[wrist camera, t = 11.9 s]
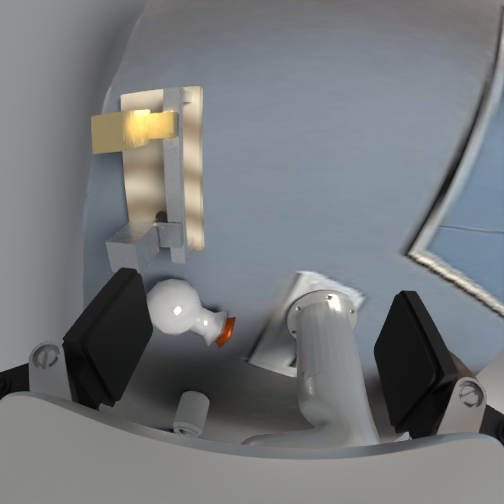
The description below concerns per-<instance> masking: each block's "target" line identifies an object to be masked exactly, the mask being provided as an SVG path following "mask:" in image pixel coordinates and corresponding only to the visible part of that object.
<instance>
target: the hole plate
mask: <svg viewBox="0 0 504 504" xmlns="http://www.w3.org/2000/svg"><path fill="white" fill-rule="evenodd" d="M181 88H184V90H186V91H191V92H192V102H191V103H183V160H184V191H185V211H186V228H187V236H190V237H195V247H194V249H193V250H199V251H202V250H203V248H204V225H203V191H202V103H203V87H201V86H192V87H181ZM131 110H150V114H152V113H163V89H160V90H151V91H144V92H137V93H131V94H125V95H121V111H131ZM122 154H123V168H124V180H125V190H126V199H127V208H128V215H129V222H150V223H152V222H153V221H154V220H155V219H156V218H160V219H161V220H162V223H168V217H167V205H166V190H165V172H164V147H163V138H158V139H150V143H149V144H146V145H142V146H139V147H136V148H133V149H129V150H126V151H122ZM163 248H170V247H163Z"/></svg>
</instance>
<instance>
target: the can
mask: <svg viewBox="0 0 504 504" xmlns="http://www.w3.org/2000/svg"><path fill="white" fill-rule="evenodd" d="M209 403H210V401H209V399H208V398H207V397H206V396H205V395H204V394H202V393H200V392H197V391H188V392H185V393H183V394H182V396H181V399H180V403H179V406H178V409H177V412H176V415H175V418H174V421H173V427H174V432H175V433H176V434H179V435H183V436H188V437H193V438H198V437H199V435H201V434H202V433H203V428H204V424H205V420H206V416H207V412H208V408H209Z"/></svg>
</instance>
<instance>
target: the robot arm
mask: <svg viewBox="0 0 504 504" xmlns="http://www.w3.org/2000/svg"><path fill="white" fill-rule="evenodd" d="M356 322H357V311H356V307H355V305H354V303H353V302H352V300H351V299H350V298H348V297H347V296H346V295H344V294H342V293H339V292H336V291H328V290H326V291H317V292H313V293H310V294H307V295H305V296H303V297H302V298H300V299H299V300H298V301H296V302H295V303H294V305H293V306H292V307H291V309H290V310H289V313H288V316H287V326H288V330H289V332H290V334H291V335H292V336H293V337H294V338H295V339H296V341H297V401H298V406H299V408H300V410H301V412H302V414H303V415H304V417H305V418H306V419H307V420H308V421H309V422H310V423H311V424H313V425H314V426H315V427H316V428H313V429H307V430H303V431H295V432H286V433H275V434H264V435H256V436H253V437H250V438H248V439H246V440H245V441H243V443H242V444H241V445H238V444H230V443H223V442H216V441H210V440H204V439H199V438H193V437H188V436H183V435H179V434H174V433H170V432H166V431H162V430H158V429H154V428H150V427H147V426H143V425H140V424H136V423H133V422H130V421H126V420H123V419H120V418H117V417H114V416H111V415H108V414H105V413H102V412H100V411H99V408H98V407H99V405H100V403H102V404H105V405H108V406H111V407H113V406H114V404H115V402H116V401H119V400H120V399H121V397H122V395H123V393H124V391H125V388H126V386H127V384H128V382H129V380H130V378H131V376H132V374H133V372H134V370H135V368H136V366H137V364H138V361H139V359H140V357H141V355H142V353H143V351H144V349H145V347H146V345H147V343H148V342H149V340H150V338H151V336H152V332H153V326H152V322H151V318H150V313H149V309H148V305H147V300H146V296H145V291H144V286H143V282H142V277H141V274H140V273H138V272H137V270H136V269H133V268H125V267H121V268H120V269H119V270H118V271H117V272H116V273H115V274H114V276H113V277H112V278H111V279H110V280H109V281H108V283H107V284H106V285H105V286H104V287H103V288H102V290H101V291H100V292H99V293H98V294H97V296H96V297H95V298H94V299H93V300H92V302H91V303H90V304H89V305H88V307H87V308H86V309H85V310H84V312H83V313H82V314H81V315H80V317H79V318H78V319H77V320H76V322H75V323H74V325H73V326H72V327H71V328H70V330H69V331H68V332H67V333H66V335H65V336H64V337H63V340H64V343H63V344H62V345H61V344H60V343H58V342H56V341H45V342H43V343H40V344H39V345H37V346H36V347H35V348H34V349H33V350H32V352H31V354H30V357H29V363H27V364H24V365H21V366H18V367H15V368H12V369H9V370H6V371H3V372H0V504H504V414H502V413H500V412H499V411H497V410H495V409H494V408H492V407H490V406H489V405H487V404H486V402H487V395H486V391H485V389H484V387H483V386H482V385H481V384H480V382H478V381H477V380H476V379H473V378H471V377H464V378H461V379H460V380H458V378H457V375H458V370H457V368H456V366H455V364H454V362H453V360H452V357H451V355H450V353H449V351H448V349H447V347H446V345H445V343H444V341H443V339H442V337H441V335H440V333H439V331H438V329H437V328H436V326H435V324H434V322H433V320H432V318H431V316H430V315H429V313H428V311H427V309H426V308H425V306H424V304H423V302H422V301H421V299H420V297H419V295H418V294H417V292H416V291H401V292H400V293H399V294H397V295H396V296H395V297H394V300H393V303H392V305H391V308H390V310H389V313H388V315H387V318H386V320H385V323H384V325H383V328H382V330H381V332H380V335H379V337H378V339H377V341H376V344H375V346H374V356H375V360H376V364H377V368H378V371H379V375H380V379H381V383H382V387H383V392H384V396H385V400H386V405H387V409H388V414H389V419H390V423H391V425H392V426H395V431H396V433H402V432H408V431H409V435H410V437H409V439H408V440H406V441H399V442H392V443H384V444H381V441H380V438H379V435H378V432H377V430H376V427H375V424H374V421H373V418H372V415H371V411H370V407H369V403H368V398H367V394H366V389H365V384H364V379H363V374H362V369H361V365H360V360H359V355H358V351H357V347H356V342H355V338H354V334H353V329H354V327H355V325H356Z"/></svg>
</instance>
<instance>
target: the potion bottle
mask: <svg viewBox="0 0 504 504" xmlns="http://www.w3.org/2000/svg"><path fill="white" fill-rule="evenodd" d="M146 300H147V305H148V309H149V313H150V318H151V322H152V325H153V326H154V327H155V328H157V329H158V330H159V331H160V332H162V333H166V334H169V335H172V336H177V335H180V334H182V333H185V332H187V331H189V330H191V331H194V332H196V333H198V334H200V335H202V336H203V337H204V339H205V341H206V343H207V345H208V346H210V345H211V344H212V343H214V342H216V343H217V345H218V347H219V349H220V348H221V347H222V346H223V345H224V344H225V343H226V342H227V341H228V340H229V339H230V338H231V335H232V330H233V326H234V322H235V318H236V317H233V318H227V311H222V312H217V313H213V312H211V311H209V310H207V309H205V308H203V307H202V306H201V302H200V299H199V296H198V293H197V291H196V290H195V289H194V288H193V287H192V286H191V285H190V284H189V283H188V282H187V281H184V280H180V279H175V278H171V279H167V280H163V281H159V282H157V283H156V284H155V286H154V287H153V288H152V289H151V290H150V291H149V292H148V293H147V299H146Z"/></svg>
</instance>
